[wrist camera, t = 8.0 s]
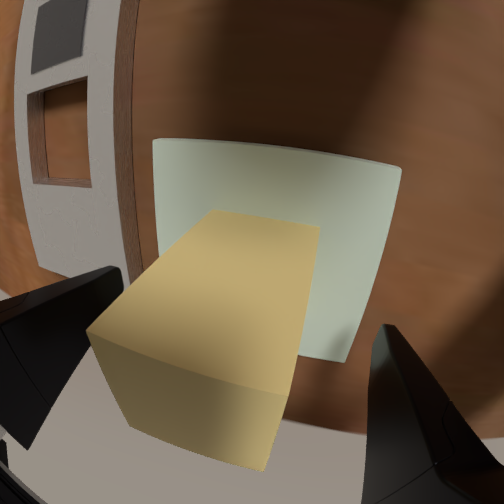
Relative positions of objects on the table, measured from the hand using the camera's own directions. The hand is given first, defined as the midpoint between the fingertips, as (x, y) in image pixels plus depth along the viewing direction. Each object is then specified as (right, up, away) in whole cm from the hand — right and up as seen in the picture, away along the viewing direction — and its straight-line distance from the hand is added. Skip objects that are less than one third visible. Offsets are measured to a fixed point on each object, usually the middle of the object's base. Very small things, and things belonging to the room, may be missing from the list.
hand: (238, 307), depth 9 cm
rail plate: (-8, +9, +2) cm, 13 cm away
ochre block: (+1, +1, +2) cm, 3 cm away
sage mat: (+1, +2, +3) cm, 3 cm away
